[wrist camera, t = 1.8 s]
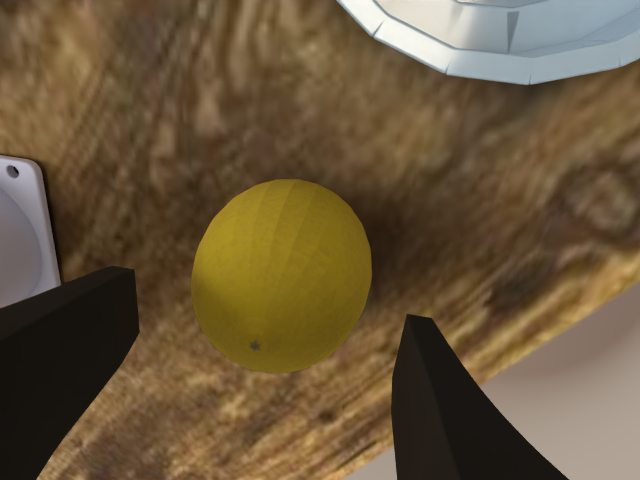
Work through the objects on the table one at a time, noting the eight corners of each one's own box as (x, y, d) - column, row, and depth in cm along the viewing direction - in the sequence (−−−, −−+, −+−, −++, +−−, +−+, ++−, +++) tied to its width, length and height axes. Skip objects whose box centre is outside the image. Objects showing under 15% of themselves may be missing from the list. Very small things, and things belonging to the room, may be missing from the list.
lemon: (363, 289, 19) (352, 446, 12) (237, 270, 19) (151, 410, 12) (384, 163, 16) (386, 263, 9) (239, 145, 17) (134, 226, 10)
